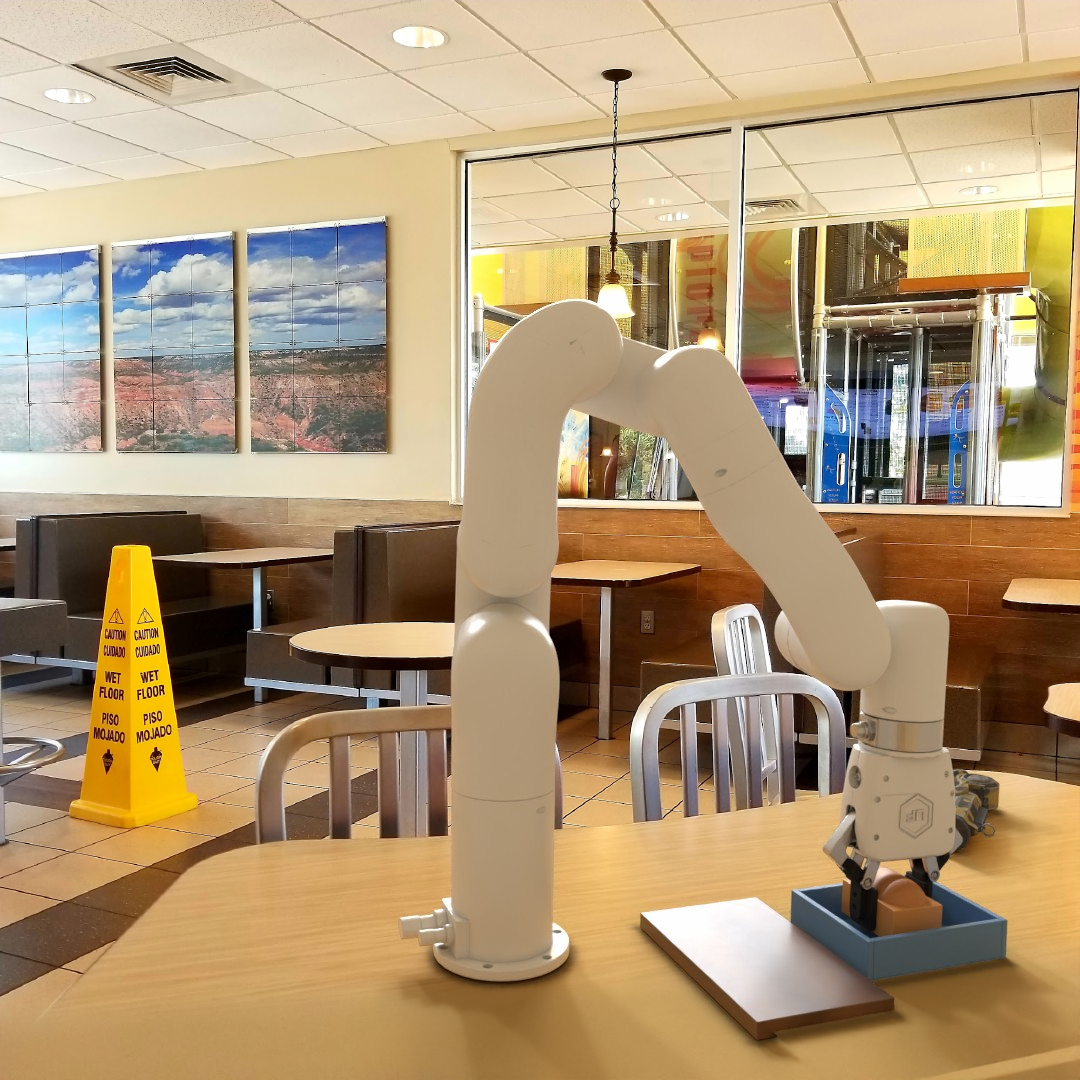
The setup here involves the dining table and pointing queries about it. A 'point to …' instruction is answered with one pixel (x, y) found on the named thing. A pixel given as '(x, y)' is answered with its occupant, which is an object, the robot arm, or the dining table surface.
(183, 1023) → the dining table surface
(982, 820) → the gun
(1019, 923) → the dining table surface
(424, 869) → the dining table surface
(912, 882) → the bread
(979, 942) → the bin
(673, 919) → the board
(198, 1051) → the dining table surface
